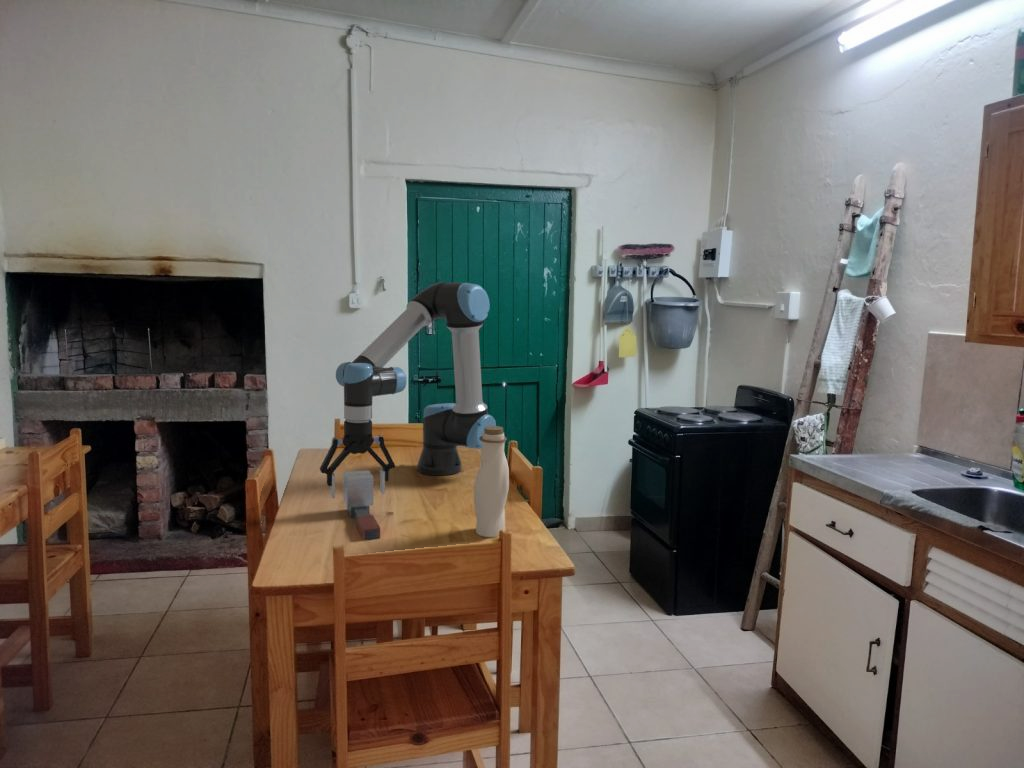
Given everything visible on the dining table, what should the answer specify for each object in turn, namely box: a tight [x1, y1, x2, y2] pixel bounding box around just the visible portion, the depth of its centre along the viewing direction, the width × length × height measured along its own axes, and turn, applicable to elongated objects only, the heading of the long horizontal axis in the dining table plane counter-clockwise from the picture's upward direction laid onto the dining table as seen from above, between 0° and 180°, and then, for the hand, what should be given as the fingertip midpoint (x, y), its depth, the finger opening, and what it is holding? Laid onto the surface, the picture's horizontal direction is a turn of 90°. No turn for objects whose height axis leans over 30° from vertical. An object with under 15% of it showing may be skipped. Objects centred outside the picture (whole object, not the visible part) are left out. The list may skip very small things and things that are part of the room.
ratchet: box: [346, 506, 381, 541], centre depth 181 cm, size 5×24×7 cm, turn 22°
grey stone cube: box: [343, 469, 374, 509], centre depth 188 cm, size 7×7×8 cm
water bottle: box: [473, 425, 510, 538], centre depth 177 cm, size 10×9×28 cm
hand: (358, 494), depth 189 cm, fingers open, 13 cm apart
